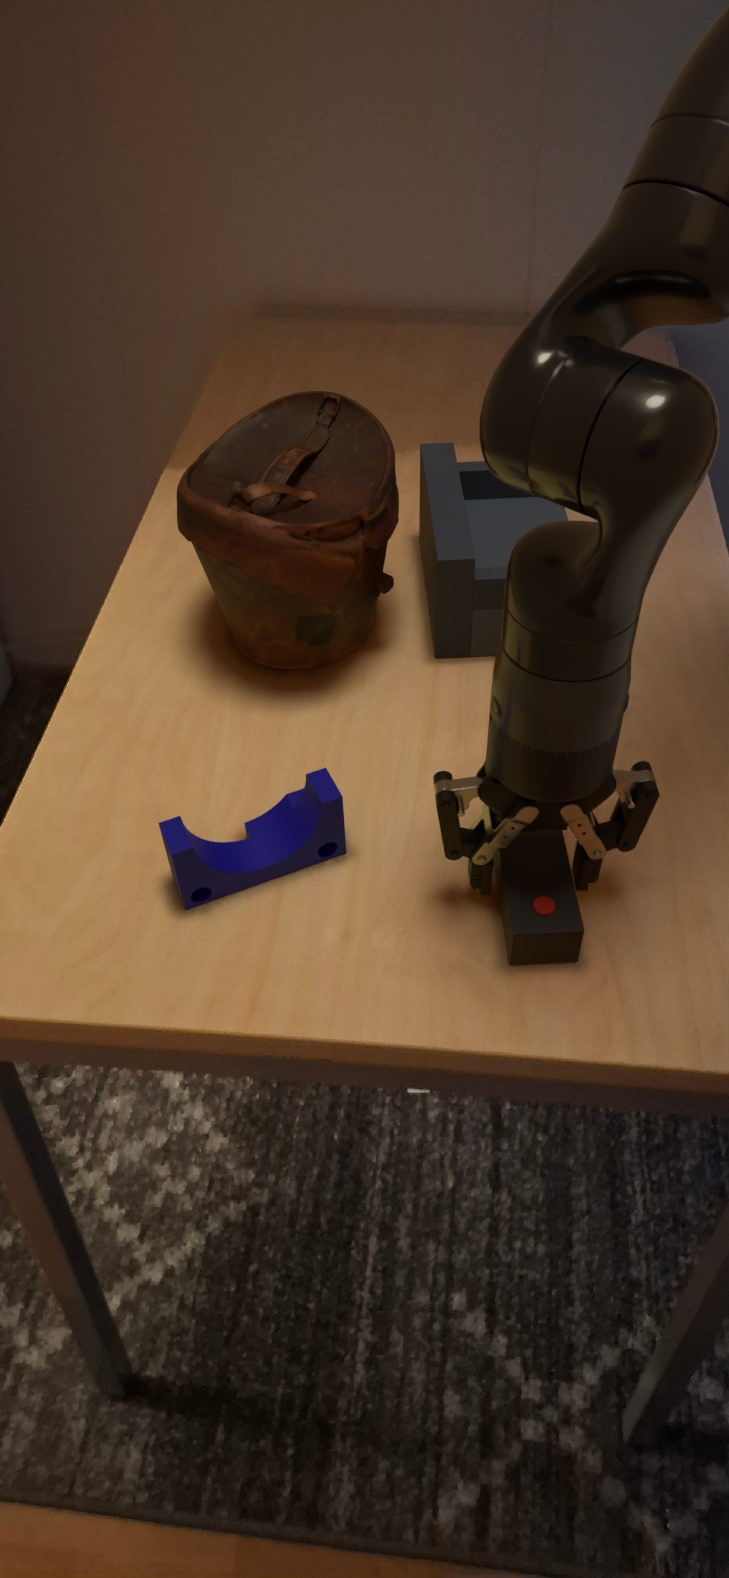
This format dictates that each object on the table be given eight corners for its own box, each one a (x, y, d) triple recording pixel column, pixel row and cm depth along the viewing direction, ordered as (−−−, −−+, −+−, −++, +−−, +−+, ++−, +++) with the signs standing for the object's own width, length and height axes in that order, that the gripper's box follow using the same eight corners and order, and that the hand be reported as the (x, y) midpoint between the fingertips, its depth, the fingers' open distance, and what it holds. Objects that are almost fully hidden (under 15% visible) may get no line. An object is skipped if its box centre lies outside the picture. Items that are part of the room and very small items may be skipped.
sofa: (552, 532, 101) (564, 437, 94) (586, 651, 89) (602, 552, 82) (419, 538, 101) (420, 443, 94) (434, 658, 89) (437, 560, 82)
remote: (548, 822, 76) (554, 788, 73) (578, 961, 68) (585, 929, 65) (487, 825, 76) (490, 791, 73) (509, 965, 68) (513, 932, 65)
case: (205, 717, 85) (168, 527, 72) (194, 573, 98) (161, 391, 85) (421, 689, 86) (424, 498, 73) (380, 552, 100) (377, 370, 87)
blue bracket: (322, 810, 77) (317, 753, 73) (346, 852, 75) (342, 796, 70) (167, 863, 74) (152, 807, 70) (185, 909, 72) (171, 854, 67)
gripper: (668, 653, 62) (624, 836, 74) (425, 664, 62) (421, 846, 74) (700, 742, 57) (647, 923, 69) (436, 755, 56) (430, 933, 69)
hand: (530, 882), depth 71 cm, fingers open, 6 cm apart
